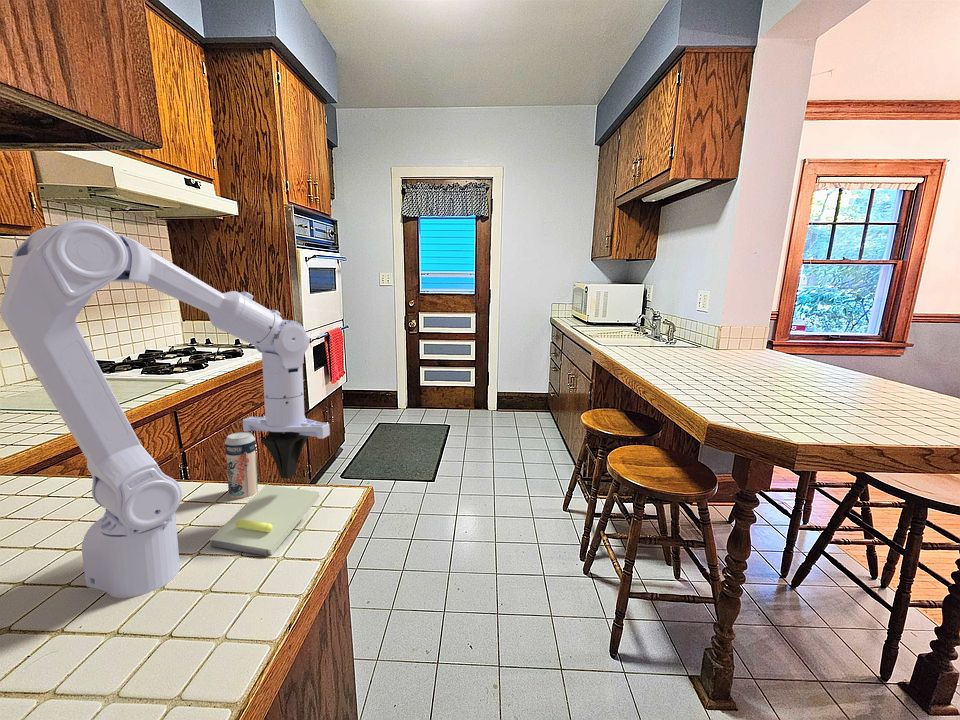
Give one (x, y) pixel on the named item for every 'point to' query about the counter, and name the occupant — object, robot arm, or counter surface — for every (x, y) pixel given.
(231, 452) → the beer can
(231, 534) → the plate
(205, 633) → the counter surface
